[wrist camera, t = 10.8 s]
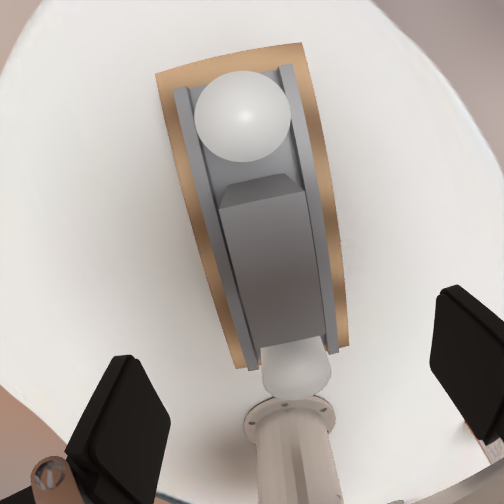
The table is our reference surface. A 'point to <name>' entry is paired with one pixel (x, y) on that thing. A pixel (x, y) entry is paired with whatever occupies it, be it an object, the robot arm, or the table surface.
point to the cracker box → (491, 449)
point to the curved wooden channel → (166, 82)
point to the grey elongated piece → (264, 222)
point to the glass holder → (397, 502)
